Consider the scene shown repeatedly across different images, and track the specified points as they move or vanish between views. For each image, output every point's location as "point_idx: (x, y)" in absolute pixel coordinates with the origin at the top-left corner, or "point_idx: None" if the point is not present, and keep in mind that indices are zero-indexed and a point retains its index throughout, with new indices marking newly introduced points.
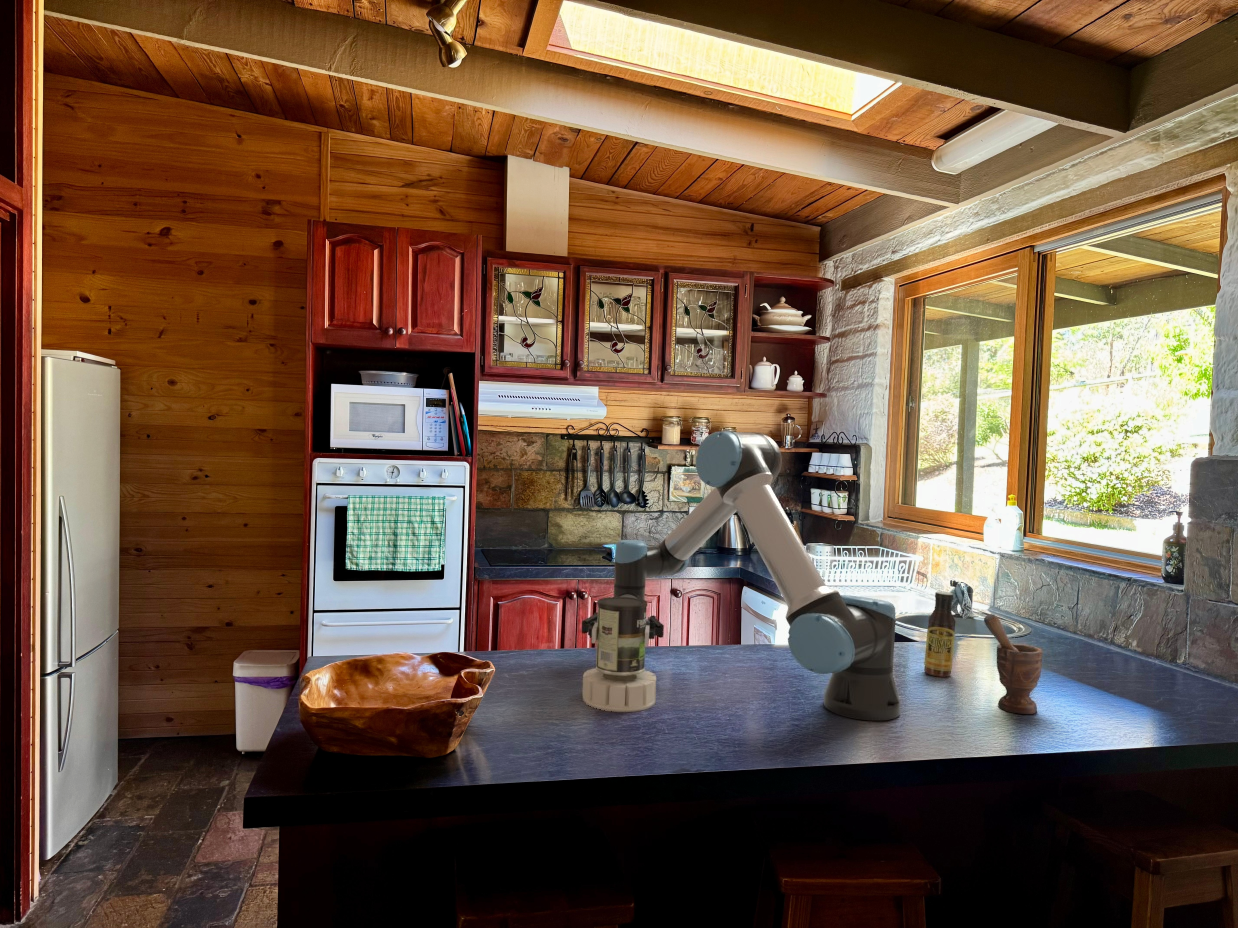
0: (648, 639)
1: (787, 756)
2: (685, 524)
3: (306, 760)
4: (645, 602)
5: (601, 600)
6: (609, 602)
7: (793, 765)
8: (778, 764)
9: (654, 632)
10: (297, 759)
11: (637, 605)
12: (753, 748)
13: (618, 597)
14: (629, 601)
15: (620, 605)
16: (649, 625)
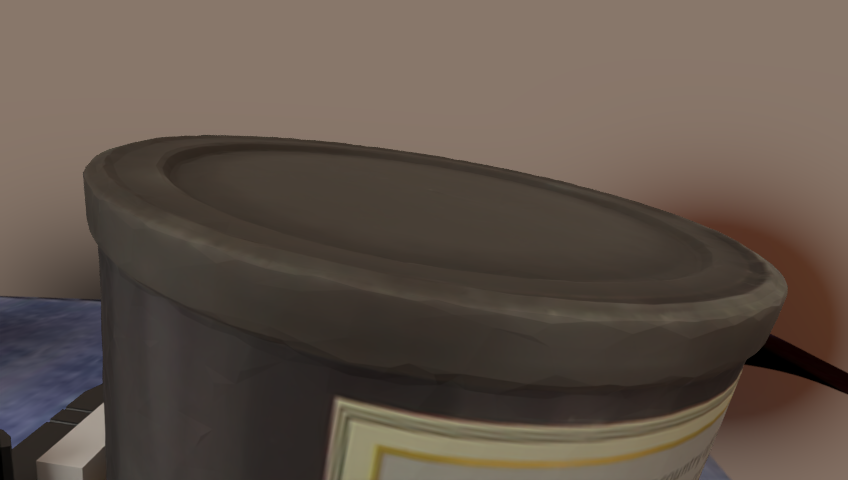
0: None
1: (23, 322)
2: None
3: (828, 379)
4: (170, 142)
5: (684, 231)
6: (565, 205)
7: (55, 302)
8: (82, 306)
9: (92, 393)
10: (843, 382)
11: (308, 144)
12: (64, 349)
13: (561, 287)
14: (350, 189)
15: (445, 169)
16: (43, 456)
